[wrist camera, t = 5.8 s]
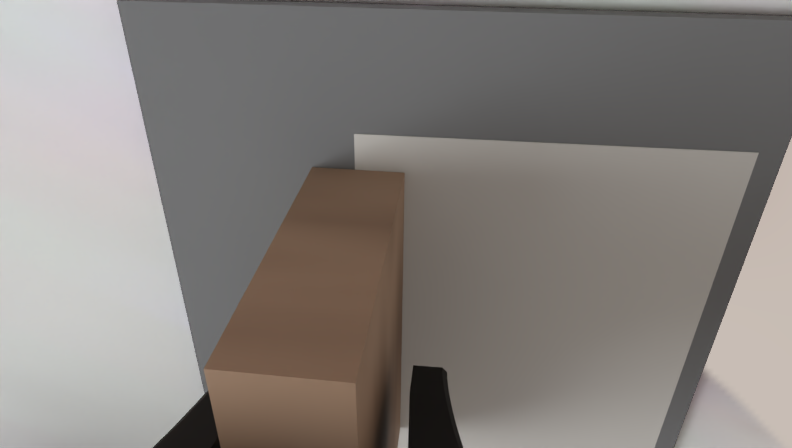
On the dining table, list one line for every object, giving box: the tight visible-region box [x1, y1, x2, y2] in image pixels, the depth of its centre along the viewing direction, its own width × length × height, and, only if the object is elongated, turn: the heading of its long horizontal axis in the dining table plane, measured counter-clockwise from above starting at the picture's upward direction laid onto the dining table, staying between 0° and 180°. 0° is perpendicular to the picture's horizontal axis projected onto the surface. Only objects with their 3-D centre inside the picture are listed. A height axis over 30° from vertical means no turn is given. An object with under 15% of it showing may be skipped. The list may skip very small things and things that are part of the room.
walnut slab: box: [204, 167, 405, 448], centre depth 12 cm, size 8×2×6 cm, turn 179°
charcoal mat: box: [117, 0, 792, 448], centre depth 15 cm, size 16×13×1 cm
